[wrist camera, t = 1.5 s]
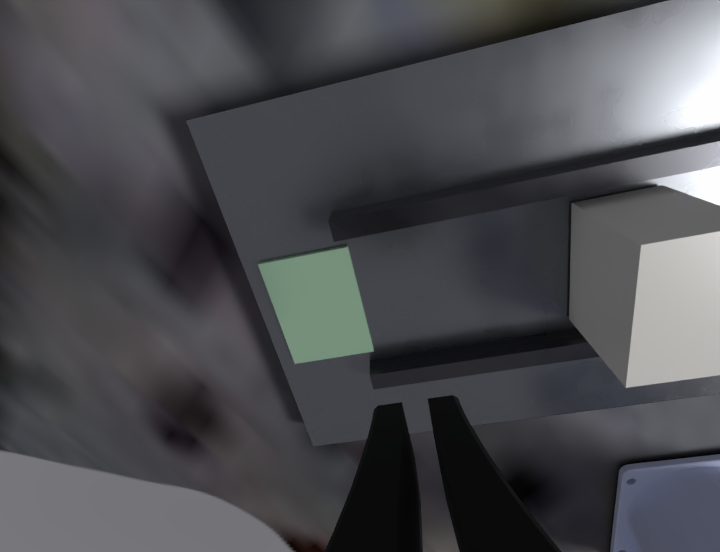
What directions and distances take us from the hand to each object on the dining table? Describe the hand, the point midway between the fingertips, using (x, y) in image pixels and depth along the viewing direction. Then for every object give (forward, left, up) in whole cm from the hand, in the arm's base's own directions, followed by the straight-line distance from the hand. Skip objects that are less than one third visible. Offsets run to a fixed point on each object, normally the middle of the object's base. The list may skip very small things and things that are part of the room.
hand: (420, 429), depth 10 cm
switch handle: (0, -8, -7) cm, 11 cm away
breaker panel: (0, -8, -8) cm, 12 cm away
